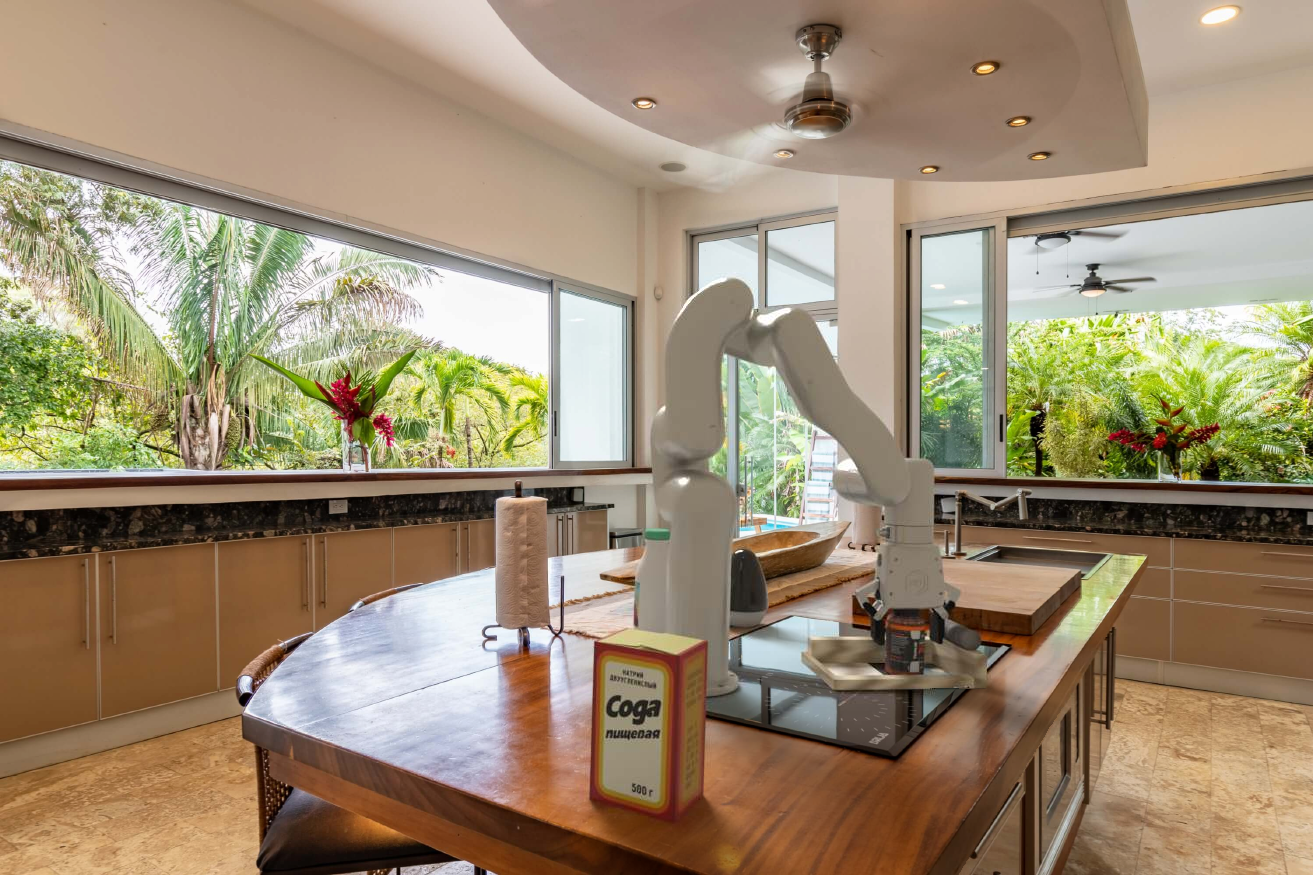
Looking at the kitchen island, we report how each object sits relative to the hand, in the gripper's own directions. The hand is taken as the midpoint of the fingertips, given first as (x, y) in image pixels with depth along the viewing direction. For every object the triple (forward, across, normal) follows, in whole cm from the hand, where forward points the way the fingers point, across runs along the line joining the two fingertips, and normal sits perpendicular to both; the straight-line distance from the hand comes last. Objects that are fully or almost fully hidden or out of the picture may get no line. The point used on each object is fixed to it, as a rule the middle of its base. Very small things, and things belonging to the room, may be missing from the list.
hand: (907, 642), depth 121 cm
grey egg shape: (+5, -19, +33) cm, 38 cm away
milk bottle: (+4, -38, +21) cm, 44 cm away
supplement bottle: (+5, 0, 0) cm, 5 cm away
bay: (+5, -3, 0) cm, 6 cm away
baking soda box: (+4, -46, -39) cm, 61 cm away
